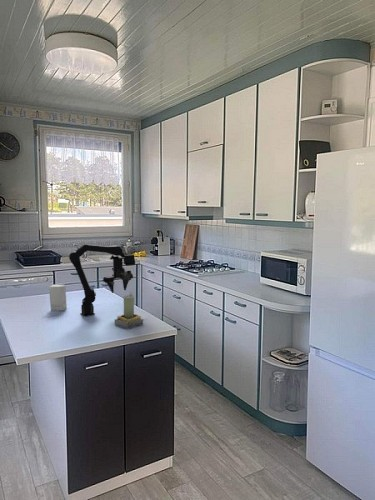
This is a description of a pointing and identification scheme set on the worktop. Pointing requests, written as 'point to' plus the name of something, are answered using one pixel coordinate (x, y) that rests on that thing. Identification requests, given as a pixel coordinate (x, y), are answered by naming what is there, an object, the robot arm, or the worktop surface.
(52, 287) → the skincare box
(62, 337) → the worktop surface
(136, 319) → the grey and tan tray
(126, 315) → the green and white bottle
